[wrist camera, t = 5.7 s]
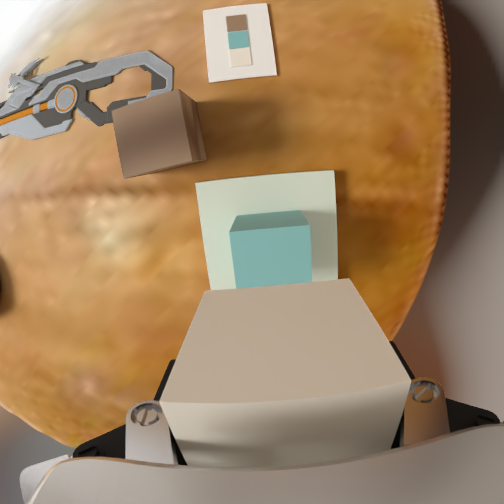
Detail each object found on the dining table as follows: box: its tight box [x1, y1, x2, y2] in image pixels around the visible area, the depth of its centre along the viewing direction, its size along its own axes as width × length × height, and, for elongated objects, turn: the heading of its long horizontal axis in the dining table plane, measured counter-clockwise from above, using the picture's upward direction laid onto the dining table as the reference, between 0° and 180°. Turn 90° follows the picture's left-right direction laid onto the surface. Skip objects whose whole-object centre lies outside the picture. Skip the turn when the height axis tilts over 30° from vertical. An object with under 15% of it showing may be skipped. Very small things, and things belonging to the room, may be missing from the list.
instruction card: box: [203, 3, 277, 83], centre depth 23 cm, size 8×6×1 cm
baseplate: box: [195, 170, 338, 290], centre depth 28 cm, size 12×12×1 cm
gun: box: [0, 50, 173, 140], centre depth 24 cm, size 39×2×10 cm
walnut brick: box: [112, 89, 207, 179], centre depth 23 cm, size 6×6×6 cm
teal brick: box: [229, 210, 312, 289], centre depth 24 cm, size 6×6×6 cm
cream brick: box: [159, 278, 411, 467], centre depth 9 cm, size 6×6×6 cm
